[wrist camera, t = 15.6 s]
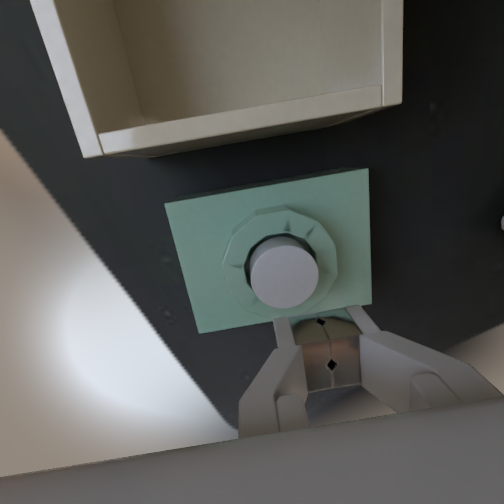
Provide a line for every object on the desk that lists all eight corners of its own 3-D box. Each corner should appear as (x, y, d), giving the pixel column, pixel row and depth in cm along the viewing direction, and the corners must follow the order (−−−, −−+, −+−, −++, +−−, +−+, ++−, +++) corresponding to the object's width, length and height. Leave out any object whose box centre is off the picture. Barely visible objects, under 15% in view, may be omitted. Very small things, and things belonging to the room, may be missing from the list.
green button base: (347, 166, 19) (384, 169, 14) (353, 284, 22) (385, 318, 17) (175, 196, 19) (155, 208, 14) (204, 309, 22) (195, 351, 17)
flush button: (307, 231, 16) (316, 240, 14) (313, 288, 17) (321, 302, 15) (244, 242, 16) (245, 252, 14) (254, 298, 17) (256, 314, 15)
